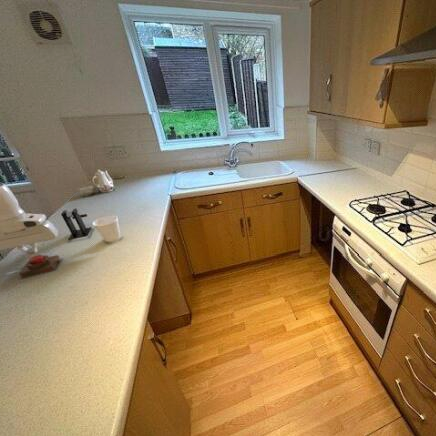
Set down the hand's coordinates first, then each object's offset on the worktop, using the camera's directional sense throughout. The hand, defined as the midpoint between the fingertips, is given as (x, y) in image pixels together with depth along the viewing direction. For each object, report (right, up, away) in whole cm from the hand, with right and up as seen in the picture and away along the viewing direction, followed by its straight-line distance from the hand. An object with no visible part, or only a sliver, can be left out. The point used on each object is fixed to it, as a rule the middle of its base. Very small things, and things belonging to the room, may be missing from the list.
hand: (32, 253), depth 96 cm
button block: (0, -7, +4) cm, 8 cm away
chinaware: (-37, +35, +83) cm, 98 cm away
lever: (-6, +14, +25) cm, 30 cm away
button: (0, -4, +2) cm, 4 cm away
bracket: (-4, +5, +27) cm, 27 cm away
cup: (+17, +3, +22) cm, 28 cm away
